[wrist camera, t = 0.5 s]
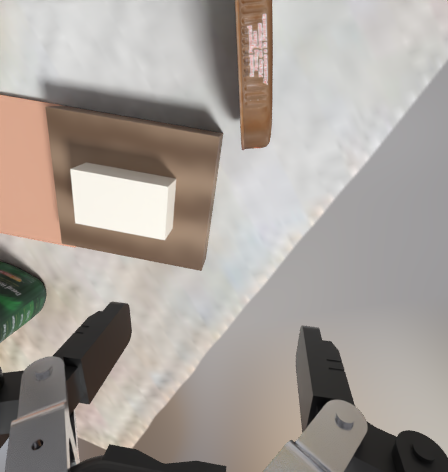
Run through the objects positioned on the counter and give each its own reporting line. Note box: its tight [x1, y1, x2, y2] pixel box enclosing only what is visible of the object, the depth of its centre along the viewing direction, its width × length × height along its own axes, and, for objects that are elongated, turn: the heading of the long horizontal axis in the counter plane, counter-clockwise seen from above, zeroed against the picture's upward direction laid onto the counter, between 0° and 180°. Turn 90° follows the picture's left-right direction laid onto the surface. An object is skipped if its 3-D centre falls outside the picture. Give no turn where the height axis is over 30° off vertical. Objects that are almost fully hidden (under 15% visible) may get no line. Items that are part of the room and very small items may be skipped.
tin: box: [235, 0, 273, 150], centre depth 25 cm, size 15×3×8 cm, turn 4°
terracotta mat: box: [0, 95, 76, 247], centre depth 37 cm, size 18×14×1 cm
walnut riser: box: [45, 105, 223, 271], centre depth 34 cm, size 16×18×3 cm
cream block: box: [70, 163, 176, 240], centre depth 32 cm, size 6×10×3 cm, turn 82°
